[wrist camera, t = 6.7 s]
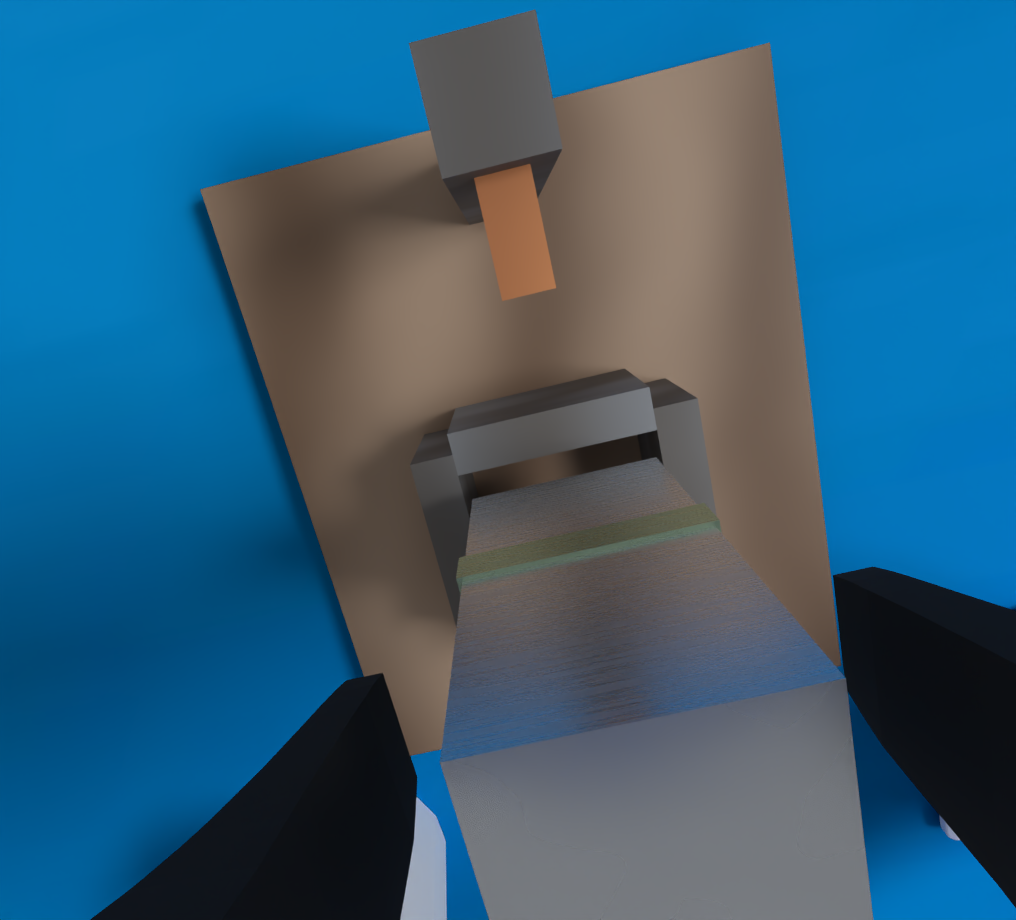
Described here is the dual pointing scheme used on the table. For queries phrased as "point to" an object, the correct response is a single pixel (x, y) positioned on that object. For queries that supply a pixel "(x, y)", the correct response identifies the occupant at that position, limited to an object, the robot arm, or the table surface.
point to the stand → (531, 328)
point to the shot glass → (426, 870)
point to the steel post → (642, 717)
